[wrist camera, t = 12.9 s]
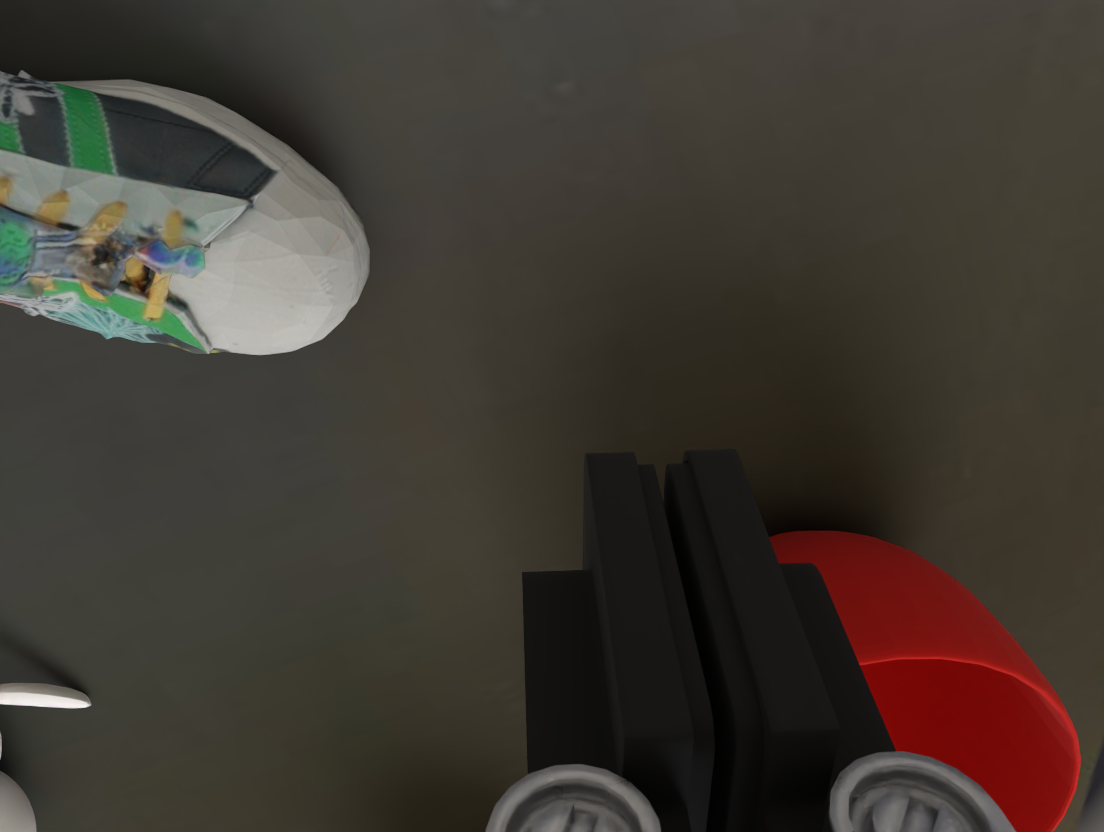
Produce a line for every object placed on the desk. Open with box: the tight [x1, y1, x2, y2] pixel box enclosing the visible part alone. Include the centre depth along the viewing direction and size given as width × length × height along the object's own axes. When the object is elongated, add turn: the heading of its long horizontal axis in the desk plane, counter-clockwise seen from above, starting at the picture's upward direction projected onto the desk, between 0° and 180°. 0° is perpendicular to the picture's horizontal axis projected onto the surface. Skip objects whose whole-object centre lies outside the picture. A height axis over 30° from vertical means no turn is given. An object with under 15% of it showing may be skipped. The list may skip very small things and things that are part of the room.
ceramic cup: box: [769, 531, 1081, 832], centre depth 36 cm, size 13×17×10 cm
